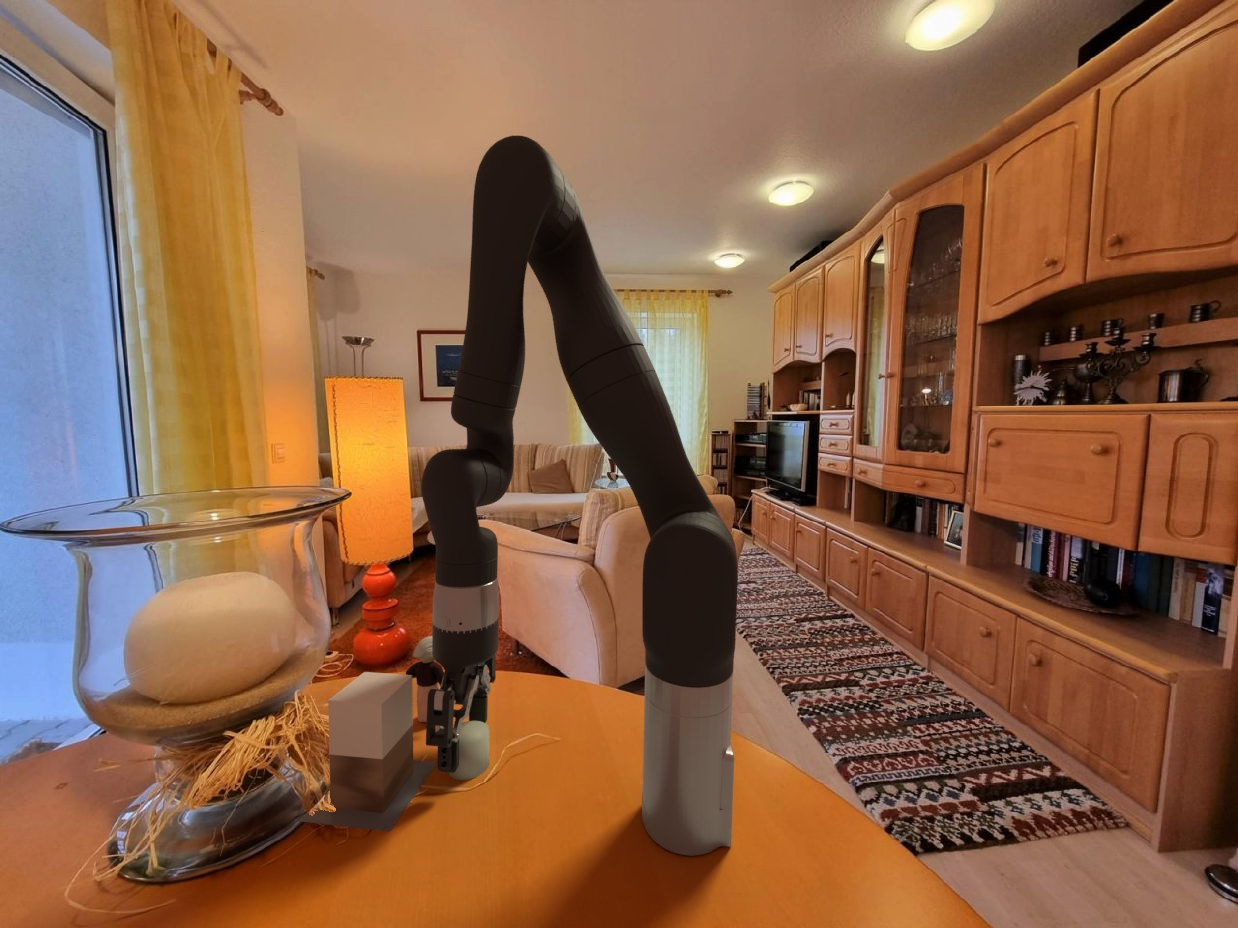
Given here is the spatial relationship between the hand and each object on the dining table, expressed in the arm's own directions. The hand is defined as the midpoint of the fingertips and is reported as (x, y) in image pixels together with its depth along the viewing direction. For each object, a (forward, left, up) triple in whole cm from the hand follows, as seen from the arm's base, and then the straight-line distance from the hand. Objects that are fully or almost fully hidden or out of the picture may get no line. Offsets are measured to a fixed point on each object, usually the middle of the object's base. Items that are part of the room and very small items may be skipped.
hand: (464, 744), depth 57 cm
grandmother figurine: (+9, -8, -4) cm, 13 cm away
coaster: (+8, +5, -3) cm, 10 cm away
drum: (-1, 0, -4) cm, 4 cm away
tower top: (+8, +5, +3) cm, 10 cm away
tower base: (+8, +5, -3) cm, 10 cm away
